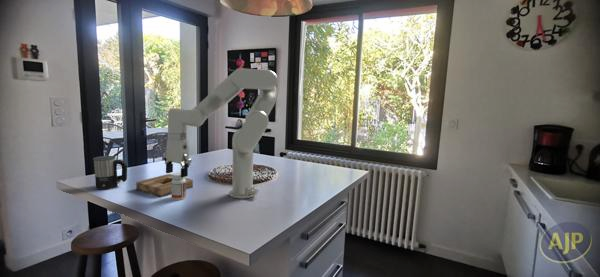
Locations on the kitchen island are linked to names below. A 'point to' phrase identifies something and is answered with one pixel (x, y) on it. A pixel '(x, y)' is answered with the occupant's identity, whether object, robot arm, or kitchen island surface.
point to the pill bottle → (178, 186)
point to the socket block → (159, 185)
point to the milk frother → (108, 172)
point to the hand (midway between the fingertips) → (176, 174)
